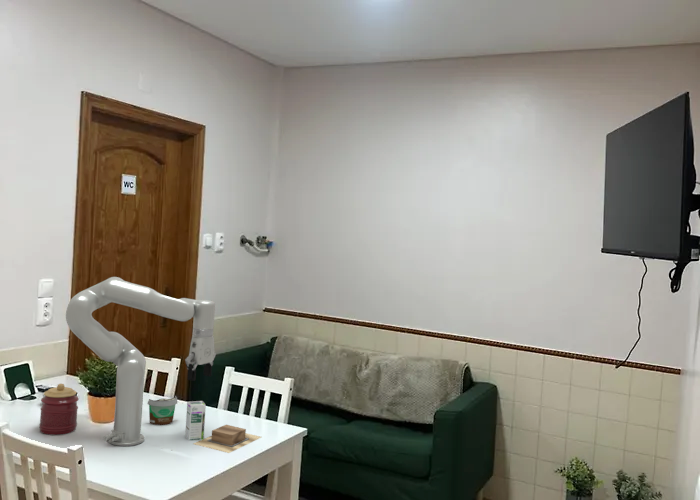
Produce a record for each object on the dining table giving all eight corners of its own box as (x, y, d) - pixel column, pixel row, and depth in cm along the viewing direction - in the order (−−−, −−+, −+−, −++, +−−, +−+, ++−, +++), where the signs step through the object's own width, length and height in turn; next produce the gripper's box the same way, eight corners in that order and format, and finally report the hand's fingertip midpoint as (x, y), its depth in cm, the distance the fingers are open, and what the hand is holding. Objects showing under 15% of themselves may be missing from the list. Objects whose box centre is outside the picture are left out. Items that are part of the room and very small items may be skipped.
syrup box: (188, 443, 239) (190, 405, 238) (184, 438, 244) (187, 400, 243) (203, 442, 241) (206, 404, 241) (199, 437, 246) (202, 399, 246)
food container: (152, 427, 253) (154, 402, 253) (146, 423, 258) (147, 398, 258) (181, 423, 261) (183, 399, 261) (174, 419, 266) (176, 395, 266)
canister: (31, 429, 240) (34, 383, 240) (62, 422, 251) (65, 377, 251) (52, 438, 234) (55, 389, 233) (83, 430, 245) (86, 384, 244)
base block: (231, 446, 236) (232, 435, 236) (211, 441, 240) (212, 430, 240) (245, 439, 244) (245, 429, 244) (225, 434, 248) (226, 424, 248)
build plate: (228, 456, 229) (229, 452, 229) (192, 447, 235) (192, 442, 235) (261, 440, 249) (262, 436, 249) (227, 431, 255) (227, 428, 255)
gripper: (196, 337, 233) (193, 383, 233) (224, 331, 248) (221, 375, 249) (180, 334, 236) (176, 380, 236) (208, 329, 251) (205, 372, 252)
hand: (199, 378), depth 242 cm, fingers open, 9 cm apart
